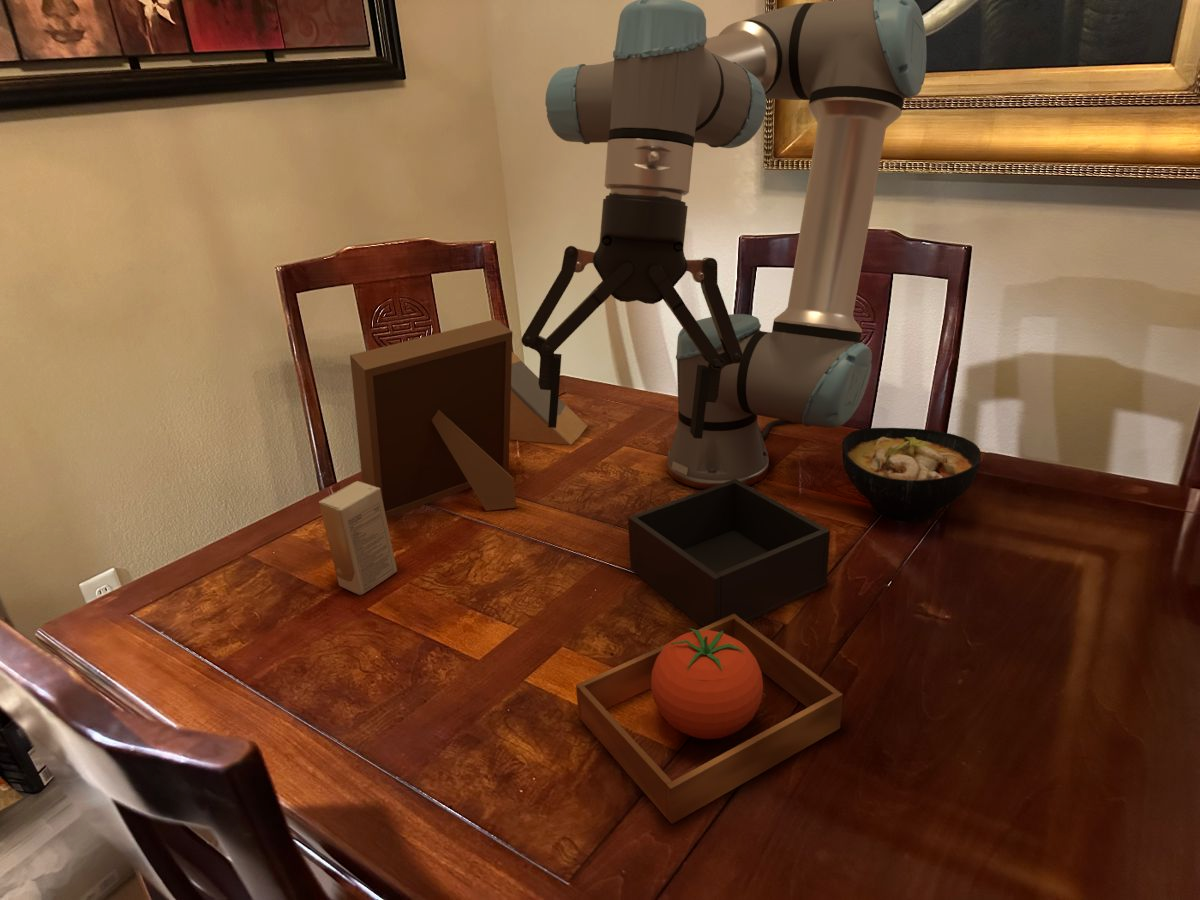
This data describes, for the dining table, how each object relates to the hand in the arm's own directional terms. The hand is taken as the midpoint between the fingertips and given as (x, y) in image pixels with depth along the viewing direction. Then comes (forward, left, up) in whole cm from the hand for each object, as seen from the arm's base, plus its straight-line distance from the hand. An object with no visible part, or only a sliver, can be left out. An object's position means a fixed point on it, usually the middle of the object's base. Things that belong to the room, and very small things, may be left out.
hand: (624, 430), depth 79 cm
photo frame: (+3, -43, -26) cm, 50 cm away
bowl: (-46, -4, -26) cm, 53 cm away
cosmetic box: (+20, -31, -26) cm, 45 cm away
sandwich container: (-19, -59, -26) cm, 67 cm away
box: (+1, +13, -25) cm, 29 cm away
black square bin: (-16, -5, -25) cm, 31 cm away
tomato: (+1, +13, -26) cm, 29 cm away
